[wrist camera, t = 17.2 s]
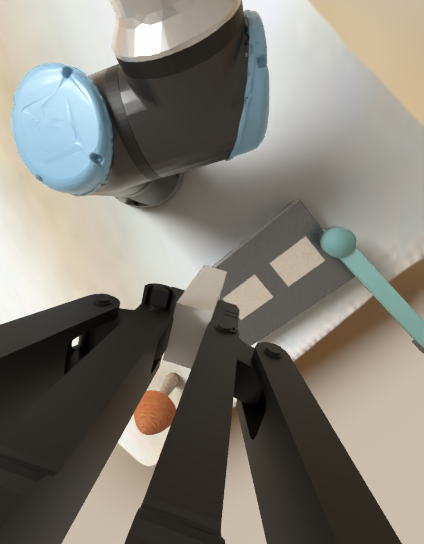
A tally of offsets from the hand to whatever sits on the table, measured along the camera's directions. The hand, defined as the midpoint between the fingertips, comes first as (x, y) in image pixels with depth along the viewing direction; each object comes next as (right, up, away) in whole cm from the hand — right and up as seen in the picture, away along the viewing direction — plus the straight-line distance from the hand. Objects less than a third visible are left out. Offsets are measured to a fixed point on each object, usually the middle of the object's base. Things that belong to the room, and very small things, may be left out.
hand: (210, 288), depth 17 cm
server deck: (+11, +1, +32) cm, 34 cm away
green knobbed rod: (+25, -2, +23) cm, 34 cm away
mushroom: (-9, -21, +41) cm, 47 cm away
